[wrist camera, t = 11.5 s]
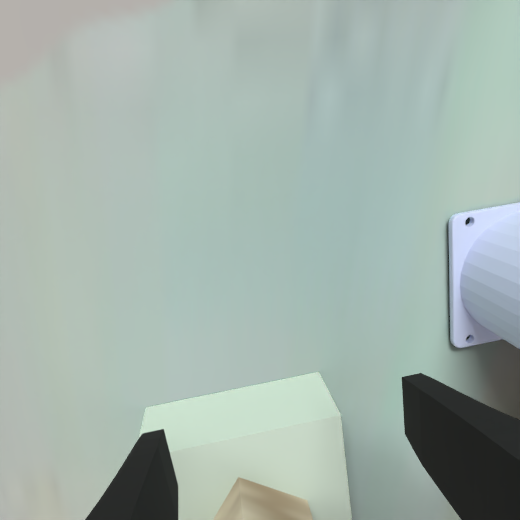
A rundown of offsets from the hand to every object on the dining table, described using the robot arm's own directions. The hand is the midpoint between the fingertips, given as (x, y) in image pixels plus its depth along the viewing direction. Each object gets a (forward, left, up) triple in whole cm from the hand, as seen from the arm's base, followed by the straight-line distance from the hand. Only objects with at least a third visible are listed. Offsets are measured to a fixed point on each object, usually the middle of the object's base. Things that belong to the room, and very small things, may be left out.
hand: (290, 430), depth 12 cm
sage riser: (+2, +10, -10) cm, 15 cm away
